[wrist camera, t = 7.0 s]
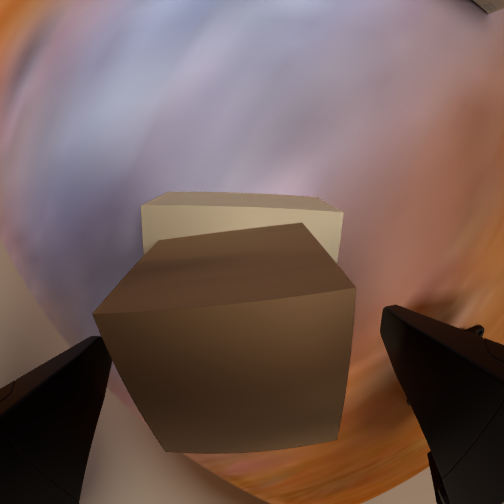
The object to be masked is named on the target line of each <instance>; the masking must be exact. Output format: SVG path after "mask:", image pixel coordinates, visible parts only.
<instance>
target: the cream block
mask: <svg viewBox="0 0 504 504" xmlns="http://www.w3.org/2000/svg"><path fill="white" fill-rule="evenodd" d="M343 213H344V212H342V211H340V210H339V209H337V208H335V207H334V206H332V205H330V204H329V203H327V202H325V201H323V200H322V199H320V198H318V197H310V196H295V195H278V194H257V193H229V192H167V193H165V194H163V195H161V196H159V197H157V198H155V199H153V200H151V201H149V202H147V203H145V204H143V205H141V219H142V236H143V250H144V255H145V254H146V253H147V252H148V251H149V250H150V249H151V248H152V247H153V246H154V244H155V243H156V242H157V241H158V240H164V239H171V238H179V237H186V236H194V235H201V234H209V233H217V232H225V231H233V230H241V229H249V228H258V227H266V226H275V225H284V224H293V223H303V224H304V225H305V226H306V227H307V229H308V230H309V231H310V232H311V233H312V235H313V236H314V237H315V238H316V239H317V240H318V242H319V243H320V244H321V245H322V246H323V248H324V249H325V250H326V251H327V252H328V254H329V255H330V256H331V257H332V259H333V260H334V261H335V262H336V263H337V259H338V252H339V245H340V238H341V230H342V222H343Z"/></svg>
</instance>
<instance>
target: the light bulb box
mask: <svg viewBox="0 0 504 504" xmlns="http://www.w3.org/2000/svg"><path fill="white" fill-rule="evenodd" d="M473 1H474V2H475V3H477V4H478V5H479V6H480V7H481V8H483V9H484V10H485V11H486V12H487V13H489V14H490V13H492V12H495V11H498V10H500V9H503V8H504V0H473Z"/></svg>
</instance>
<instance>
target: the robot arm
mask: <svg viewBox="0 0 504 504" xmlns="http://www.w3.org/2000/svg"><path fill="white" fill-rule="evenodd" d="M380 333H381V337H382V340H383V342H384V345H385V347H386V350H387V353H388V355H389V358H390V361H391V364H392V366H393V369H394V371H395V374H396V376H397V378H398V380H399V382H400V384H401V386H402V388H403V390H404V392H405V394H406V396H407V403H408V405H411V407H412V409H413V411H414V413H415V416H416V418H417V420H418V422H419V424H420V427H421V429H422V431H423V433H424V436H425V438H426V440H427V443H428V445H429V447H430V450H431V451H430V452H429V453H428V454H427V455H428V460H429V466H430V470H431V475H432V480H433V485H434V490H435V496H436V502H437V504H504V345H502V344H499V343H497V342H494V341H491V340H489V339H486V338H484V339H483V337H482V336H483V333H484V328H483V327H482V326H481V325H479V326H477V327H474V328H472V329H469V330H467V331H465V330H462V329H459V328H457V327H454V326H451V325H449V324H446V323H443V322H441V321H438V320H435V319H433V318H430V317H427V316H425V315H422V314H420V313H417V312H414V311H412V310H409V309H406V308H404V307H401V306H398V305H391V306H386V307H385V308H384V309H383V312H382V320H381V327H380ZM111 364H112V359H111V356H110V354H109V352H108V350H107V348H106V345H105V343H104V341H103V339H102V337H101V336H91V337H89V338H87V339H85V340H83V341H82V342H80V343H78V344H77V345H75V346H73V347H71V348H70V349H68V350H66V351H64V352H63V353H61V354H59V355H58V356H56V357H54V358H52V359H51V360H49V361H48V362H45V363H44V364H42V365H40V366H39V367H37V368H35V369H33V370H32V371H30V372H28V373H27V374H25V375H23V376H21V377H20V378H18V379H17V380H16V381H13V382H11V383H10V384H8V385H6V386H5V387H2V388H1V389H0V504H79V500H80V494H81V489H82V484H83V479H84V474H85V470H86V465H87V461H88V456H89V452H90V448H91V444H92V440H93V437H94V433H95V429H96V425H97V422H98V418H99V415H100V411H101V408H102V405H103V401H104V397H105V392H106V388H107V383H108V378H109V373H110V369H111Z"/></svg>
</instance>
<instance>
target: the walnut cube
mask: <svg viewBox="0 0 504 504" xmlns="http://www.w3.org/2000/svg"><path fill="white" fill-rule="evenodd" d="M355 295H356V287H355V286H354V285H353V283H352V282H351V281H350V280H349V278H348V277H347V276H346V275H345V273H344V272H343V271H342V270H341V268H340V267H339V266H338V265H337V263H336V262H335V261H334V260H333V259H332V257H331V256H330V255H329V254H328V252H327V251H326V250H325V249H324V248H323V246H322V245H321V244H320V243H319V242H318V240H317V239H316V238H315V237H314V236H313V235H312V233H311V232H310V231H309V230H308V229H307V227H306V226H305V225H304V224H303V223H293V224H284V225H275V226H266V227H258V228H249V229H241V230H233V231H225V232H217V233H209V234H201V235H194V236H186V237H179V238H171V239H164V240H158V241H157V242H156V243H155V244H154V246H153V247H152V248H151V249H150V250H149V251H148V252H147V253H146V254H145V255H144V256H143V257H142V258H141V259H140V260H139V261H138V263H137V264H136V265H135V266H134V267H133V268H132V269H131V270H130V271H129V272H128V273H127V275H126V276H125V277H124V278H123V279H122V280H121V281H120V282H119V284H118V285H117V286H116V287H115V288H114V289H113V290H112V291H111V293H110V294H109V295H108V296H107V297H106V298H105V300H104V301H103V302H102V303H101V304H100V305H99V307H98V308H97V309H96V310H95V311H94V313H93V317H94V319H95V322H96V324H97V327H98V329H99V332H100V334H101V336H102V339H103V341H104V343H105V345H106V348H107V350H108V352H109V354H110V356H111V359H112V361H113V363H114V365H115V367H116V369H117V371H118V373H119V375H120V377H121V379H122V381H123V383H124V385H125V386H126V388H127V390H128V392H129V394H130V396H131V397H132V399H133V401H134V403H135V405H136V406H137V408H138V410H139V411H140V413H141V415H142V416H143V418H144V420H145V421H146V423H147V425H148V426H149V428H150V429H151V431H152V432H153V434H154V435H155V437H156V439H157V440H158V441H159V443H160V444H161V446H162V447H163V449H164V450H165V451H166V452H177V453H206V454H217V453H246V452H260V451H270V450H279V449H287V448H295V447H301V446H307V445H313V444H319V443H324V442H329V441H334V440H337V437H338V432H339V427H340V422H341V417H342V411H343V405H344V399H345V393H346V386H347V379H348V372H349V364H350V355H351V346H352V336H353V325H354V311H355Z"/></svg>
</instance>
